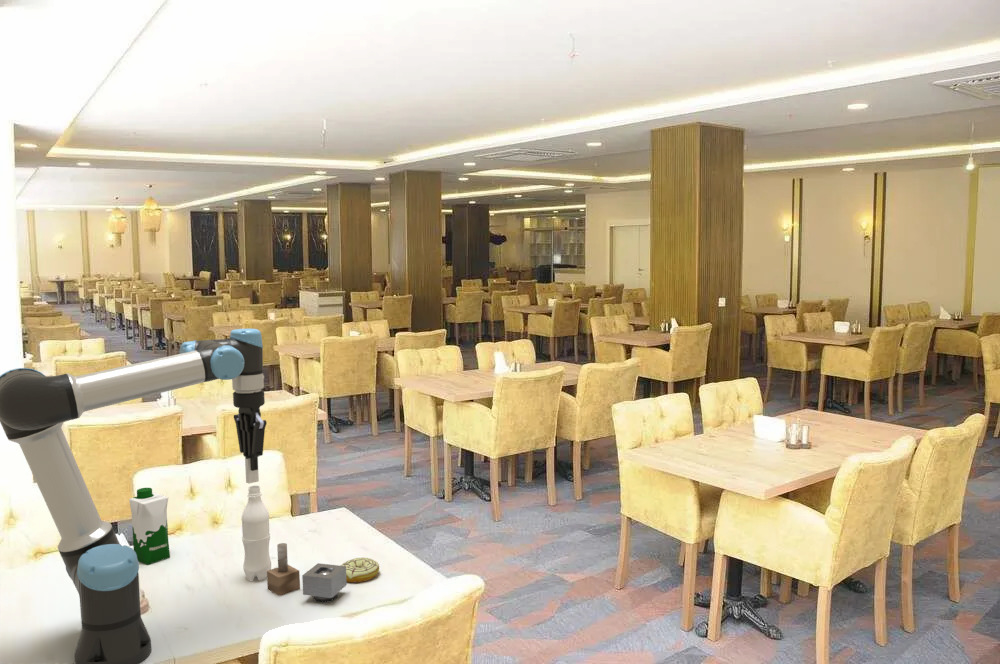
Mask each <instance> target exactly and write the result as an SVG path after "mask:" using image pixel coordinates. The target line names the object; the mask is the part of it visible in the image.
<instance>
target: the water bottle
mask: <svg viewBox="0 0 1000 664" xmlns="http://www.w3.org/2000/svg"><path fill="white" fill-rule="evenodd" d="M247 491H248V493H247V498H248V499H247V503H246V505H245V507H244V509H243V511H242V514H241V519H240V520H241V529H242V532H241V533H242V537H241V541H242V545H243V547H244V561H243V564H242V565H243V572H244V574H245V577H246V578H247V580H249V581H251V582H252V581H254V580H255V579H256V577H257V579H258V581H264V580H265V579H267V571H268V570H271V569H272V561H271V556H270V540H271V533H270V513H269V511H268V509H267V506H266V505H265V504H264V502H263V500H262V497H261V496H262V493H261V486H260V485H251V486H248V490H247Z"/></svg>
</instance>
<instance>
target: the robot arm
mask: <svg viewBox="0 0 1000 664" xmlns="http://www.w3.org/2000/svg"><path fill="white" fill-rule="evenodd" d="M263 352H264V346H263V337H262V332H261V331H260V330H259V329H257V328H237V329H232V330H231V331H230V335H229V337H227V338H220V339H219V338H218V339H217V338H216V339H202V340H196V339H194V340H191V341H184V342H183V343H181V345H180V347H179V354H174V355H168V356H164V357H160V358H155V359H151V360H147V361H142V362H137V363H133V364H128V365H123V366H118V367H114V368H109V369H105V370H101V371H95V372H91V373H86V374H82V375H77V376H74V375H72V374H70V373H68V372H67V373H63V374H58V375H49V376H46V375H45V374H43V373H42V372H41V371H39V370H37V369H34V368H29V367H28V368H27V367H18V368H13V369H9V370H6V371H5V372H4V373H2V374H0V425H1V427H2V429H3V431H4V434H5V436H6V438H7V440H8V441H10V442H13V443H17V444H18V445H19V447H20V449H21V452H22V453H23V456H24V457H25V460H26V462H27V464H28V466H29V469H30V472H31V474H32V475H33V478H34V480H35V482H36V485H37V488H38V489H39V491H40V494H41V496H42V498H43V499H44V502H45V504H46V507H47V509H48V511H49V513H50V515H51V518H52V520H53V521H54V524H55V526H56V529H57V532H58V534H59V535H60V541H59V543H58V545H57V550H58V552H59V554H60V557H61V559H62V561H63V564H64V566H65V570H66V573H67V575H68V576H69V578H70V580H71V581H72V583H73V586H74V587H75V588H76V592H77V593H78V596H79V607H80V609H79V610H80V620H81V621H80V622H81V623H80V624H81V630H80V634H79V637H78V641H77V644H76V647H75V651H74V657H73V659H74V664H140V663H141V662H143V661H144V660H146V659H147V658H148V657H149V655H150V654H151V653H152V640H151V639H152V638H151V637H150V634H149V631H148V629H147V627H146V625H145V623H144V621H143V618H142V615H141V614H142V613H141V597H140V595H141V594H140V592H141V591H140V577H139V571H140V562H139V561H138V560H137V555H136V552H135V551H134V548H132V547H130V546H128V545H127V544H126V545H122V544H120V540H119V538H118V536H117V535H116V532H115V530H114V527H113V526H112V524H111V522H108V521H105V520H102V518H101V517H100V514H99V512H98V509H97V507H96V505H95V503H94V500H93V498H92V495H91V493H90V491H89V489H88V486H87V484H86V482H85V480H84V477H83V475H82V472H81V470H80V468H79V465H78V463H77V461H76V459H75V457H74V454H73V452H72V449H71V447H70V444H69V443H68V440H67V438H66V435H65V433H64V431H63V428H62V426H63V425H64V423H66V422H69V421H73V420H77V419H80V418H81V416H82V415H83V414H84V413H85V412H89V411H93V410H96V409H101V408H105V407H110V406H114V405H117V404H120V403H125V402H130V401H134V400H138V399H140V398H145V397H149V396H153V395H157V394H161V393H166V392H171V391H174V390H178V389H182V388H186V387H190V386H195V385H198V384H204V383H207V382H213V381H215V380H216V381H217V380H222V381H223V380H224V381H228V380H229V381H231V380H232V381H231V385H232V386H231V387H232V390H233V393H232V400H233V402H232V403H233V407H235V408H238V413H237V414H234V415H233V420H234V423H235V428H236V429H235V430H236V434H237V442H238V447H239V448H238V449H239V452H240V454H243V457H244V462H245V463H244V465H245V483H246V484H253V483H254V484H255V483H258V482H260V481H259V480H260V479H259V475H260V474H259V457H261V456H263V455H264V444H265V443H264V441H265V431H266V430H265V429H266V428H267V427H266V426H267V420H266V419H264V420H263V419H262V418H261V416H262V414H261V409H260V408H261V407H262V406H264V405H265V400H266V399H265V391H264V390H263V389H264V388H265V384H264V382H265V381H264V379H265V375H264V356H263V355H264V353H263Z"/></svg>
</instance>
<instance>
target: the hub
mask: <svg viewBox="0 0 1000 664" xmlns="http://www.w3.org/2000/svg"><path fill="white" fill-rule="evenodd" d="M329 573H330V571H321V572H319V574H326V575H328V574H329ZM338 595H339V594H338V593H337V594H336V595H335V596H334V597H333V598H327V597H319V596H312V597H313V601H315V602H317V603H322V604H323V603H330V602H332V601H334V600H337V598H338Z"/></svg>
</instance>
